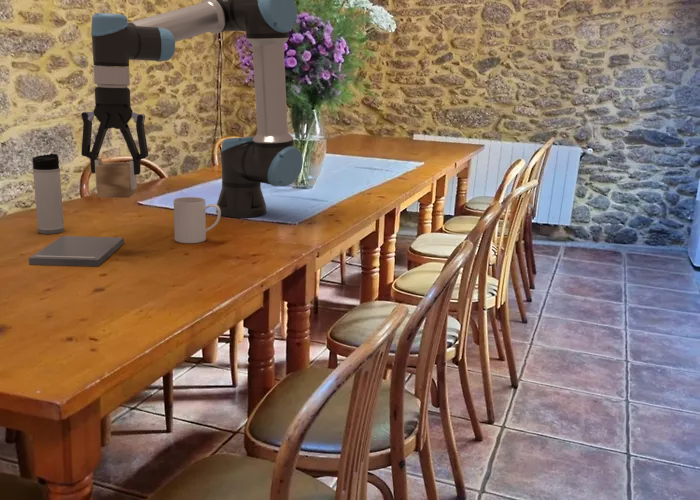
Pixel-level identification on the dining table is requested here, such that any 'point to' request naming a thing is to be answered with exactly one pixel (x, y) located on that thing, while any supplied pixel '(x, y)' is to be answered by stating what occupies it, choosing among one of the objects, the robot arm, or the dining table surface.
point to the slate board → (77, 251)
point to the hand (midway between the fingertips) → (116, 187)
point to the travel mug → (48, 194)
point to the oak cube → (114, 180)
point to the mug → (191, 219)
